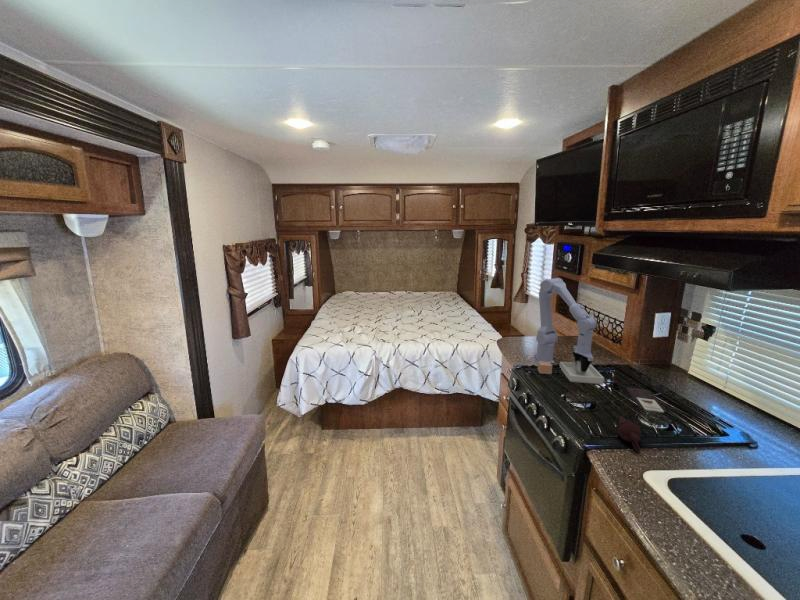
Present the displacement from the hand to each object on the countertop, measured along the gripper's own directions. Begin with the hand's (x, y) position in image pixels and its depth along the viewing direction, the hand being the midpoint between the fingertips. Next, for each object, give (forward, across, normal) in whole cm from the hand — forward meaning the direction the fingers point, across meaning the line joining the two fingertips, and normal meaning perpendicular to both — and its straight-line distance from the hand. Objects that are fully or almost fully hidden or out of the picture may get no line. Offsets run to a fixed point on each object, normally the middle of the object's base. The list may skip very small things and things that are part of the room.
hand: (580, 369), depth 155 cm
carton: (+3, -3, -16) cm, 16 cm away
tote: (+3, 0, 0) cm, 3 cm away
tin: (+1, 0, 0) cm, 1 cm away
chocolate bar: (+4, +22, +16) cm, 27 cm away
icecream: (+3, +48, -8) cm, 49 cm away
